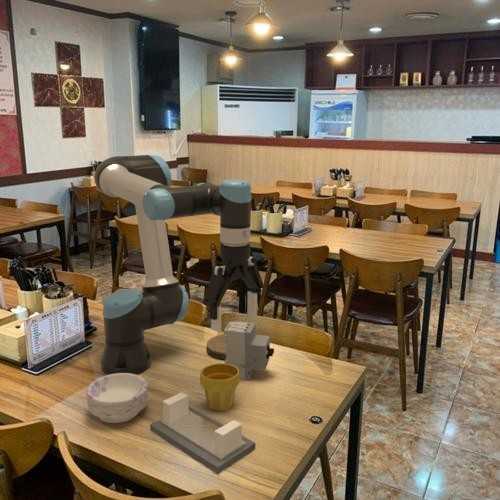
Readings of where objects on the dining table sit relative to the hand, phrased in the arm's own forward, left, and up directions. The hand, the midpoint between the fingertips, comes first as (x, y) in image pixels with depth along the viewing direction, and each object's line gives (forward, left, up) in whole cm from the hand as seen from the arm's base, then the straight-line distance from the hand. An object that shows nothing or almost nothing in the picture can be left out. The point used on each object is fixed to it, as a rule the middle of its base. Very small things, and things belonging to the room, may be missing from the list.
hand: (234, 322), depth 132 cm
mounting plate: (+5, -17, -23) cm, 29 cm away
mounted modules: (+5, -17, -21) cm, 27 cm away
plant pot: (-3, -3, -23) cm, 24 cm away
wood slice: (-25, +23, -24) cm, 41 cm away
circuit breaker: (-9, +15, -23) cm, 29 cm away
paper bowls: (-19, -24, -24) cm, 38 cm away
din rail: (+5, -17, -22) cm, 28 cm away
